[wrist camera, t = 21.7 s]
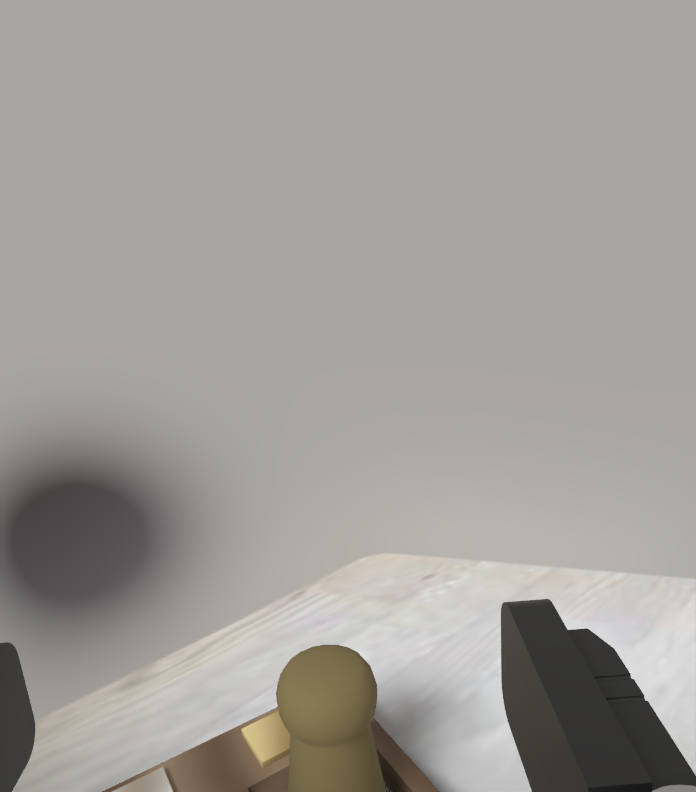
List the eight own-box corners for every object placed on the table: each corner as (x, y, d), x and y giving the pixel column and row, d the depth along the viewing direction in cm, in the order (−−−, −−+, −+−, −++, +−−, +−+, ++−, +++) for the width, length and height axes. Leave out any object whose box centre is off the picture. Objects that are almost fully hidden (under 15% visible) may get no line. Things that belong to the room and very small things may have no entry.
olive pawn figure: (381, 897, 32) (367, 717, 29) (269, 871, 34) (245, 699, 31) (403, 793, 38) (394, 634, 35) (306, 776, 40) (289, 622, 37)
